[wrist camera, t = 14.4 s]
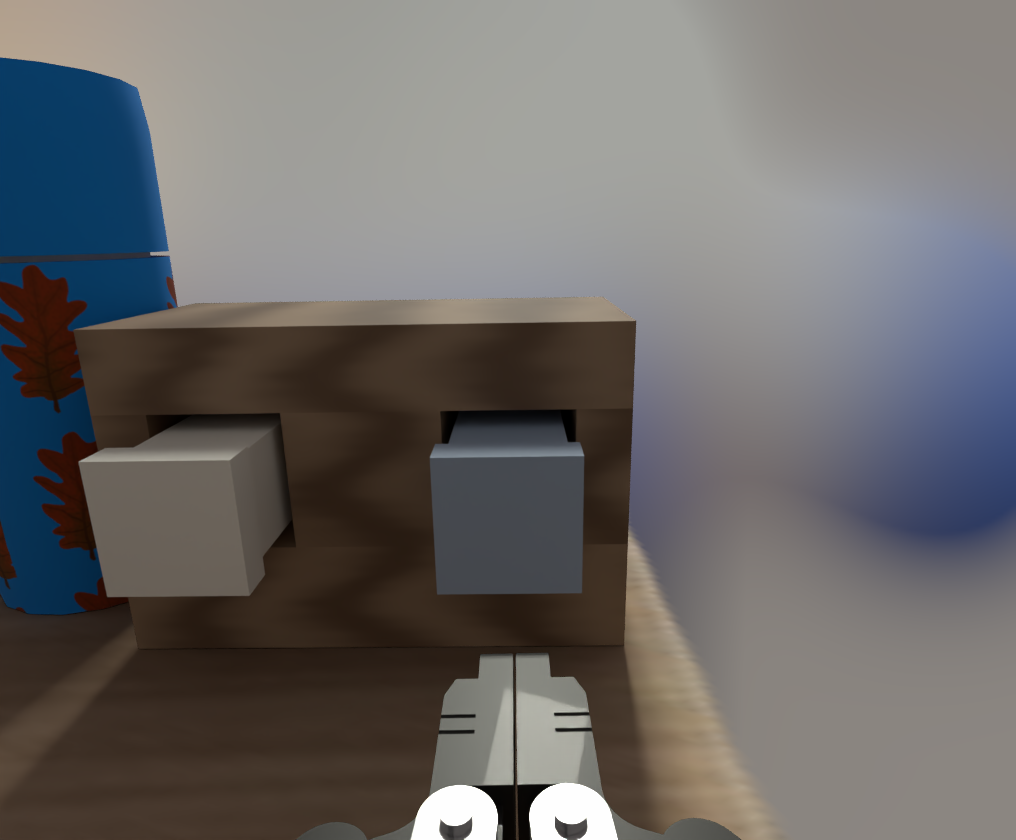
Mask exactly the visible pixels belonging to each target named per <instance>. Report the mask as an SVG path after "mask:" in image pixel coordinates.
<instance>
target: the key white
mask: <svg viewBox="0 0 1016 840" xmlns="http://www.w3.org/2000/svg"><path fill="white" fill-rule="evenodd" d="M78 463H79V467H80V472H81V477H82V481H83V486H84V491H85V495H86V500H87V505H88V509H89V514H90V519H91V523H92V528H93V533H94V537H95V542H96V547H97V551H98V556H99V561H100V565H101V570H102V575H103V579H104V584H105V589H106V593H107V597H169V596H250V594H251V593H252V592H253V590H254V589H255V588H256V586H257V585H258V584H259V582H260V581H261V580H262V578H263V577H264V576H265V570H264V563H263V556H264V554H265V553H266V552H267V551H268V549H269V548H270V547H271V546H272V544H273V543H274V542H275V540H276V539H277V538H278V537H279V535H280V534H281V533H282V532H283V530H284V529H285V528H286V527H287V525H288V524H289V523H290V521H291V520H292V519H293V518H292V510H291V501H290V493H289V485H288V476H287V468H286V460H285V451H284V443H283V434H282V426H281V418H280V413H255V414H193V415H191V416H189V417H188V418H186V419H184V420H182V421H180V422H179V423H177V424H175V425H173V426H171V427H170V428H168V429H166V430H164V431H162V432H161V433H159V434H157V435H155V436H153V437H152V438H150V439H148V440H146V441H144V442H143V443H141V444H139V445H137V446H135V447H134V448H104V449H102V450H100V451H99V452H97V453H95V454H93V455H91V456H89V457H87V458H85V459H83V460H81V461H79V462H78Z"/></svg>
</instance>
